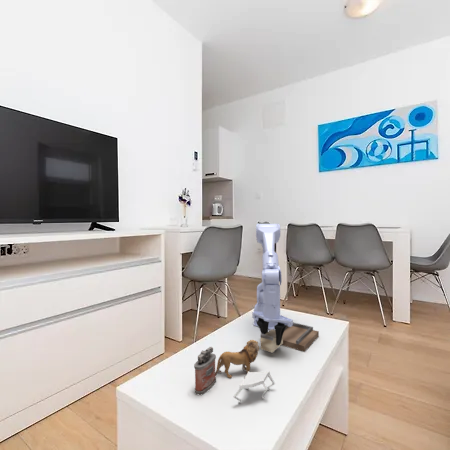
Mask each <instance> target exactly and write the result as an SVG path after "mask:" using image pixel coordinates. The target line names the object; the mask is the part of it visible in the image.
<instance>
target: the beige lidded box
mask: <svg viewBox="0 0 450 450" xmlns="http://www.w3.org/2000/svg"><path fill="white" fill-rule="evenodd" d="M282 344H283V336H282V340H281V344H280V345H276V332H275V329H274V330H272V329H271V330H270V329H269V330H268V332H267V333H266V334H261V333H260V350H262V351H265V352H269V353H272V354H273V353H274V352H275V351H276V350H277V349H278V348H279V347H281V346H283V345H282Z"/></svg>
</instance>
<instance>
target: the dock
mask: <svg viewBox="0 0 450 450" xmlns="http://www.w3.org/2000/svg"><path fill="white" fill-rule="evenodd" d="M318 338H319V330H315V329H314V327H313V326H309V325H307V324H302V323H297V322H294V321H293V325H292V326H291V327H288V326H287V327H286V328H285V331H284V333H283V344H282V345H281V346H284V347H287V348H290V349H293V350H297V351H300V352H302V353H303V352H304V353H305V352H306V351H307V350H308V348H310V346H312V344H313V343H314V342H315V341H316V340H317V339H318Z"/></svg>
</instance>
